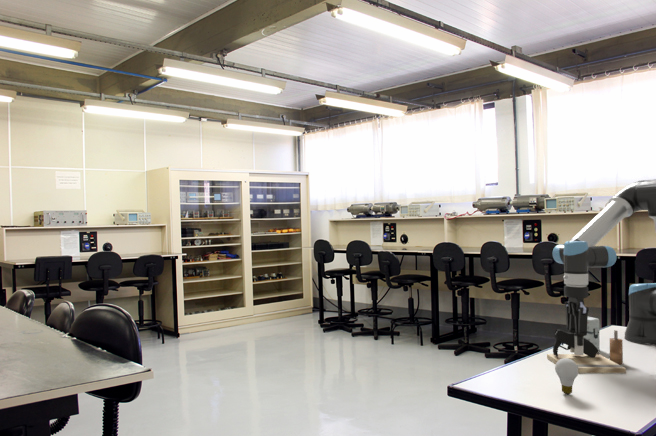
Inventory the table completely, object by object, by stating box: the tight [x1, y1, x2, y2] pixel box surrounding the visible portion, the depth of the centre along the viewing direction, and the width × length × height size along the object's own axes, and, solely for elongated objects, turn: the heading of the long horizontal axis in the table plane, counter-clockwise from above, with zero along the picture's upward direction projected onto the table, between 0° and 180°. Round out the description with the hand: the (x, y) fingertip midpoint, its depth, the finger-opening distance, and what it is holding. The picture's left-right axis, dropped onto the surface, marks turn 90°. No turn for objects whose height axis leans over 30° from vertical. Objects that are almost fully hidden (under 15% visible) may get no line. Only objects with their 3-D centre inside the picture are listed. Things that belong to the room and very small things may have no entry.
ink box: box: [583, 316, 600, 351], centre depth 190 cm, size 9×5×12 cm, turn 25°
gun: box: [552, 328, 601, 358], centre depth 173 cm, size 3×16×10 cm, turn 87°
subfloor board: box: [546, 353, 627, 374], centre depth 167 cm, size 18×17×2 cm
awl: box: [609, 329, 624, 366], centre depth 170 cm, size 4×4×11 cm
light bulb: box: [554, 358, 579, 396], centre depth 139 cm, size 6×6×10 cm
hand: (576, 353), depth 173 cm, fingers closed on gun, 3 cm apart
